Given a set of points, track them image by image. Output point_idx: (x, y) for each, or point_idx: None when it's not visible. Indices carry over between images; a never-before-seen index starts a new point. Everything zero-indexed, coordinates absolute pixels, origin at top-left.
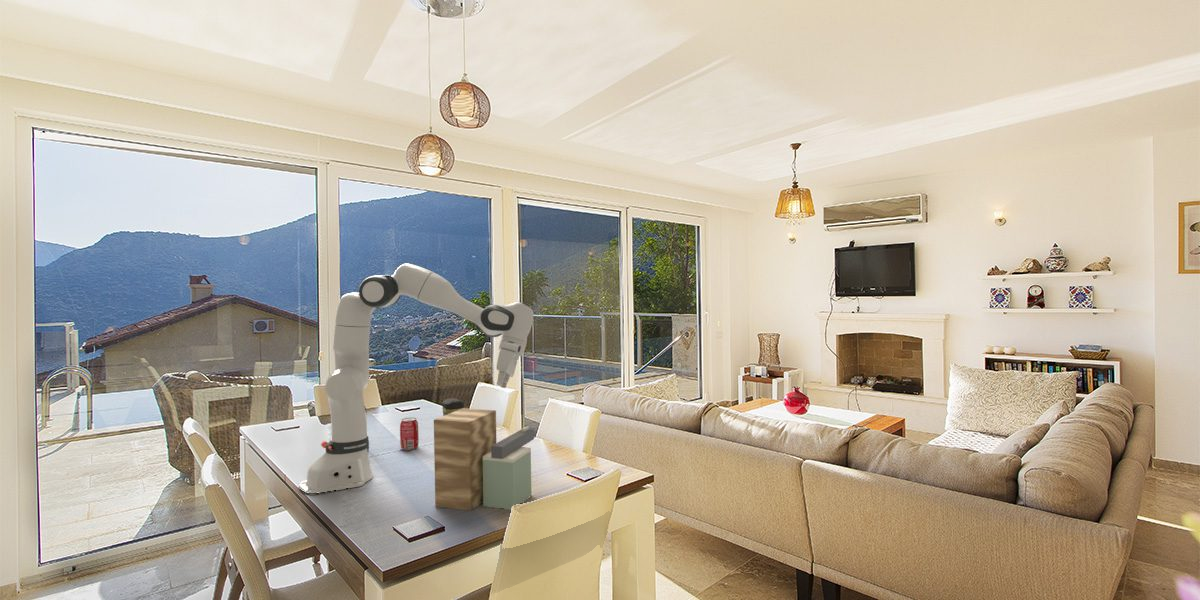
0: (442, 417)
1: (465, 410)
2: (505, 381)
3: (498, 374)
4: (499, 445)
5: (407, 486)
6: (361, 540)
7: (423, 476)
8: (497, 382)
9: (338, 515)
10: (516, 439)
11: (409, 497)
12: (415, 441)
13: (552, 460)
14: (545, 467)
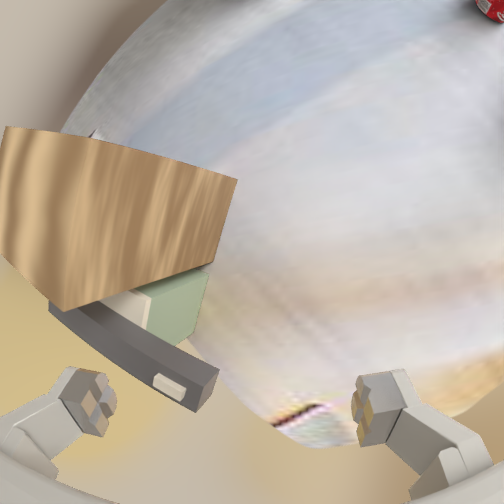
0: (12, 137)
1: (59, 170)
2: (403, 444)
3: (3, 417)
4: (53, 305)
5: (248, 57)
6: (73, 116)
7: (314, 63)
8: (62, 378)
9: (136, 38)
10: (98, 349)
11: (189, 89)
12: (493, 10)
13: (421, 372)
14: (371, 361)
